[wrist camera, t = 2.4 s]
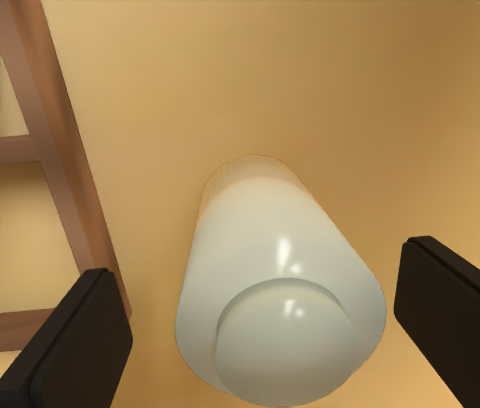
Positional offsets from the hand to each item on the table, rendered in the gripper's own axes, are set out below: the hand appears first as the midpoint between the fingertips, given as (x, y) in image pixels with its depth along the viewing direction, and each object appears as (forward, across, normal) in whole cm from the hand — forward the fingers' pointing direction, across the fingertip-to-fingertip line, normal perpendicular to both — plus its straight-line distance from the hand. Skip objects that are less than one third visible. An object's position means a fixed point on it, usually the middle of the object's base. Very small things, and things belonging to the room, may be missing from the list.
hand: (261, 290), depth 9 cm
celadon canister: (+6, 0, -1) cm, 6 cm away
